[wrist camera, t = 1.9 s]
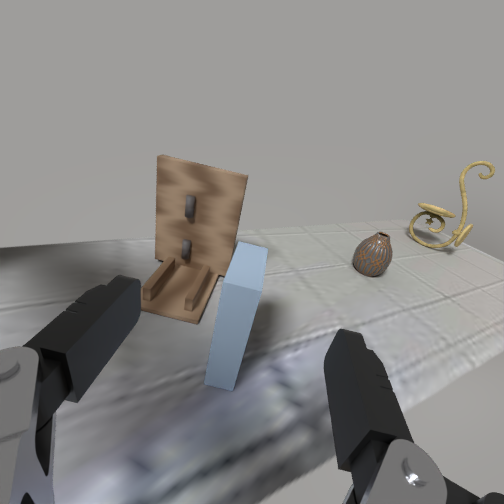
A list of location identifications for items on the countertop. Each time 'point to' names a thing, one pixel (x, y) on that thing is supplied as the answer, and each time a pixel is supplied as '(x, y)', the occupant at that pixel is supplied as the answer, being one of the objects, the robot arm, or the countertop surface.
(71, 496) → the countertop surface
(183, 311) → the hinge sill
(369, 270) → the vase
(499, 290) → the countertop surface
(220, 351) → the light blue rectangular block
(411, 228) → the wall sconce
